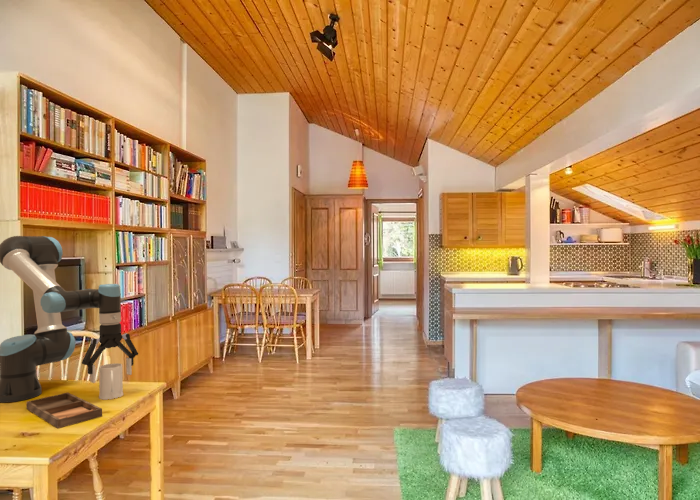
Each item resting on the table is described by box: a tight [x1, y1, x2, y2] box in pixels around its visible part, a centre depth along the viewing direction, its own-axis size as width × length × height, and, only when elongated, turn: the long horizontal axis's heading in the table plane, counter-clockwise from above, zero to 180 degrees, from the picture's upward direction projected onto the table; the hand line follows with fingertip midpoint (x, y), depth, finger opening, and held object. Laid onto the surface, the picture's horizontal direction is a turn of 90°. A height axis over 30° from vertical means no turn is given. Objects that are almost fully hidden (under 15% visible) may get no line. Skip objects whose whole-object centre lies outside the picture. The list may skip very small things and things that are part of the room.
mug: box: [98, 362, 124, 401], centre depth 179 cm, size 12×8×12 cm
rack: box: [26, 392, 103, 429], centre depth 162 cm, size 30×14×3 cm, turn 51°
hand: (111, 378), depth 178 cm, fingers open, 13 cm apart
